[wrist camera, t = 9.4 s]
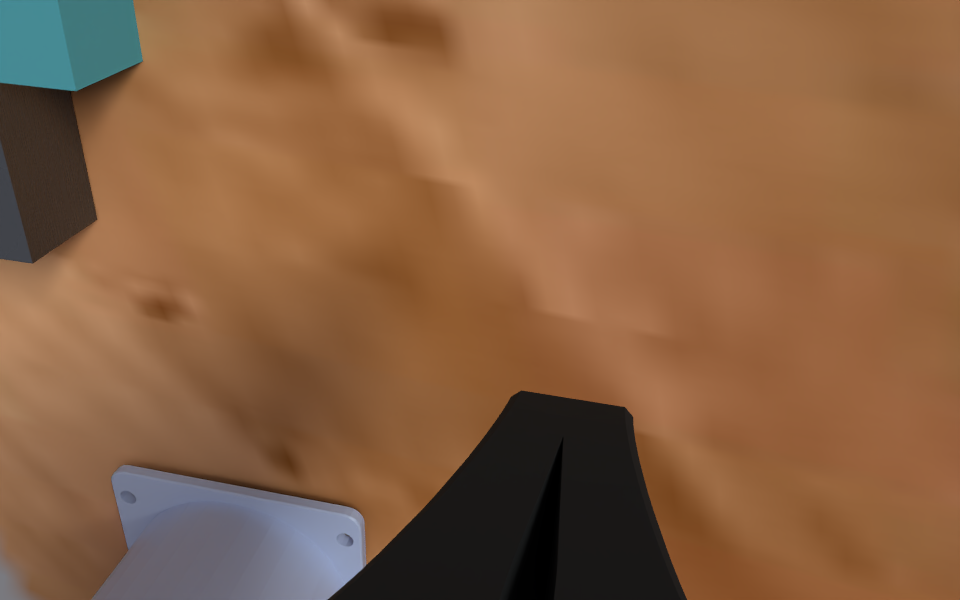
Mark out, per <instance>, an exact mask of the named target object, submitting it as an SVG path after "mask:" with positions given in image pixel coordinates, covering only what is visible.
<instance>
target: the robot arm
mask: <svg viewBox="0 0 960 600" xmlns="http://www.w3.org/2000/svg"><path fill="white" fill-rule="evenodd" d="M111 481H112V485H113V490H114V494H115V498H116V502H117V506H118V510H119V514H120V518H121V522H122V526H123V530H124V535H125V539H126V543H127V547H128V552H127V553H126V554H125V556H124V557H123V558H122V560H121V561H120V562H119V564H118V565H117V566H116V567H115V569H114V570H113V571H112V573H111V574H110V575H109V577H108V578H107V579H106V581H105V582H104V583H103V585H102V586H101V587H100V589H99V590H98V591H97V592H96V594H95V595H94V596H93V598H92V599H91V600H687V599H686V596H685V594H684V592H683V589H682V587H681V585H680V582H679V580H678V577H677V575H676V572H675V570H674V567H673V564H672V562H671V559H670V557H669V554H668V551H667V548H666V545H665V543H664V540H663V537H662V534H661V531H660V528H659V525H658V523H657V520H656V517H655V514H654V511H653V508H652V505H651V502H650V498H649V495H648V492H647V488H646V484H645V481H644V477H643V473H642V469H641V466H640V461H639V457H638V452H637V447H636V442H635V435H634V427H633V417H632V415H631V414H630V413H629V412H628V410H627V409H626V408H625V407H620V406H614V405H608V404H601V403H595V402H589V401H583V400H577V399H570V398H564V397H558V396H552V395H546V394H539V393H533V392H527V391H520V392H518V393H517V394H515V395H513V396H512V397H511V398H510V400H509V401H508V403H507V405H506V406H505V408H504V410H503V411H502V413H501V414H500V415H499V417H498V418H497V420H496V421H495V423H494V424H493V426H492V427H491V428H490V430H489V431H488V432H487V434H486V435H485V436H484V438H483V439H482V440H481V442H480V443H479V444H478V445H477V447H476V448H475V449H474V450H473V452H472V453H471V454H470V456H469V457H468V458H467V459H466V460H465V462H464V463H463V464H462V465H461V466H460V467H459V469H458V470H457V471H456V472H455V473H454V474H453V476H452V477H451V478H450V479H449V480H448V481H447V482H446V484H445V485H444V486H443V487H442V488H441V489H440V491H439V492H438V493H437V494H436V495H435V496H434V497H433V499H432V500H431V501H430V502H429V503H428V504H427V505H426V506H425V507H424V508H423V509H422V510H421V511H420V512H419V513H418V514H417V516H416V517H415V518H414V519H413V520H412V521H411V522H410V523H409V524H408V525H407V526H406V527H405V528H404V529H403V530H402V531H401V532H400V533H399V534H398V535H397V536H396V537H395V538H394V539H393V540H392V541H391V542H390V543H389V544H388V545H387V546H386V547H385V548H384V549H383V550H382V551H381V552H380V553H379V554H378V555H377V556H376V557H375V558H374V559H372V560H371V561H370V562H369V563H368V564H367V565H366V545H365V522H364V519H363V517H362V515H361V514H360V513H359V512H358V511H357V510H355V509H353V508H350V507H347V506H341V505H336V504H331V503H326V502H320V501H315V500H310V499H305V498H299V497H294V496H289V495H284V494H278V493H273V492H268V491H263V490H257V489H252V488H247V487H242V486H236V485H231V484H226V483H221V482H215V481H210V480H205V479H199V478H194V477H189V476H184V475H178V474H173V473H168V472H163V471H157V470H152V469H147V468H142V467H136V466H131V465H122V466H120V467H119V468H118V469H117V470H116V471H115V472H114V474H113V475H112V477H111ZM344 533H345V534H347V535H349V536H350V537H349V536H347V535H345V534H344Z"/></svg>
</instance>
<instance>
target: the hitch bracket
mask: <svg viewBox="0 0 960 600" xmlns="http://www.w3.org/2000/svg"><path fill="white" fill-rule="evenodd" d="M95 220H97V216H96V212H95V207H94V202H93V197H92V193H91V188H90V183H89V178H88V174H87V169H86V164H85V159H84V155H83V150H82V145H81V141H80V136H79V131H78V126H77V122H76V117H75V112H74V107H73V103H72V98H71V93H70V90H61V89H52V88H43V87H34V86H25V85H16V84H8V83H0V259H6V260H12V261H19V262H26V263H32V264H33V263H34V262H36V261H37V260H39V259H40V258H42V257H43V256H44V255H46V254H47V253H49V252H50V251H52V250H53V249H55V248H56V247H58V246H59V245H60V244H62V243H63V242H65V241H66V240H68V239H69V238H71V237H72V236H74V235H75V234H76V233H78V232H79V231H81V230H82V229H84V228H85V227H87V226H88V225H90V224H91V223H92V222H94V221H95Z"/></svg>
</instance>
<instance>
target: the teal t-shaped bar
mask: <svg viewBox="0 0 960 600" xmlns="http://www.w3.org/2000/svg"><path fill="white" fill-rule="evenodd" d="M142 61H143V60H142V54H141V47H140V41H139V35H138V29H137V23H136V17H135V11H134V5H133V0H0V83H8V84H16V85H25V86H34V87H43V88H52V89H61V90H70V91H78V90H80V89H82V88H84V87H87V86H89V85H91V84H93V83H96V82H98V81H100V80H102V79H104V78H107V77H109V76H111V75H113V74H115V73H118V72H120V71H122V70H124V69H127V68H129V67H131V66H133V65H135V64H138V63H140V62H142Z"/></svg>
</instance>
